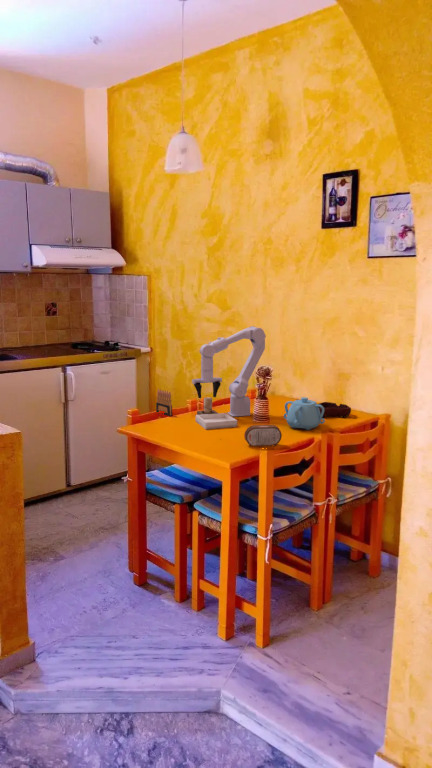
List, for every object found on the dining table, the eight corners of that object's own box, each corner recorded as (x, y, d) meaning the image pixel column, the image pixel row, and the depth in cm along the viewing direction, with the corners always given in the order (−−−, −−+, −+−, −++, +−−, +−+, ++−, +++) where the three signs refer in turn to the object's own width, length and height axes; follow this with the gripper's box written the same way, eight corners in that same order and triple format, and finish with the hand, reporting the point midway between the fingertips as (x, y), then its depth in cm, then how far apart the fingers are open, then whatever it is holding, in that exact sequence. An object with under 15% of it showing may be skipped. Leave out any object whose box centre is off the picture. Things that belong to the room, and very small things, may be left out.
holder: (213, 413, 289) (213, 409, 289) (219, 417, 281) (219, 413, 281) (196, 414, 286) (196, 410, 286) (202, 419, 279) (202, 414, 278)
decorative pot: (281, 423, 273) (282, 394, 270) (314, 421, 275) (315, 393, 273) (291, 432, 257) (292, 402, 254) (326, 431, 259) (327, 401, 257)
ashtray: (341, 410, 299) (342, 401, 298) (352, 418, 283) (353, 408, 282) (307, 411, 297) (308, 401, 296) (317, 419, 281) (317, 409, 280)
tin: (280, 443, 239) (280, 423, 238) (282, 446, 236) (282, 425, 235) (244, 445, 237) (244, 425, 235) (245, 447, 234) (246, 427, 232)
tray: (225, 419, 279) (225, 412, 278) (237, 426, 265) (237, 420, 264) (195, 421, 274) (195, 415, 274) (205, 429, 260) (205, 422, 260)
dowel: (210, 415, 286) (210, 397, 285) (213, 417, 283) (213, 398, 281) (202, 415, 285) (202, 397, 283) (205, 417, 281) (205, 399, 280)
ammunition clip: (172, 415, 285) (172, 391, 283) (169, 416, 283) (169, 392, 281) (158, 411, 292) (158, 388, 290) (156, 412, 291) (155, 388, 289)
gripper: (218, 367, 286) (218, 394, 288) (190, 369, 280) (190, 397, 283) (223, 369, 279) (223, 397, 282) (194, 371, 274) (194, 399, 277)
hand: (207, 397), depth 282 cm, fingers open, 7 cm apart
